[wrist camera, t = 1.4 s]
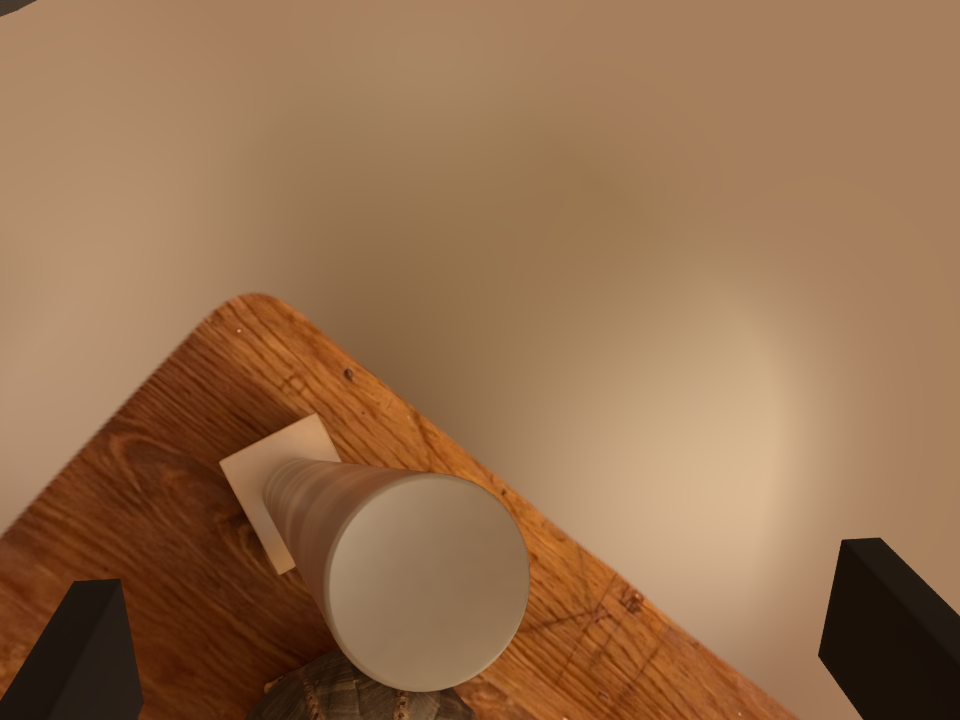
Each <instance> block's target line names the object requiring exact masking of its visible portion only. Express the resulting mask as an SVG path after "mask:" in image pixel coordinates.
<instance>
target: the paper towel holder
mask: <svg viewBox="0 0 960 720" xmlns="http://www.w3.org/2000/svg"><path fill="white" fill-rule="evenodd" d="M219 465H220V467H221V468H222V470H223V472H224V474H225V476H226V478H227V480H228V482H229V484H230V485H231V487H232V489H233V491H234V493H235V495H236V497H237V499H238V500H239V502H240V504H241V506H242V508H243V510H244V512H245V514H246V516H247V517H248V519H249V521H250V523H251V525H252V527H253V529H254V531H255V532H256V534H257V536H258V538H259V540H260V542H261V544H262V546H263V547H264V549H265V551H266V553H267V555H268V557H269V559H270V561H271V563H272V564H273V566H274V568H275V570H276V572H277V574H278V575H281V574H283V573H285V572H287V571H288V570H290V569H292V568H294V567H295V566H297V568H298V570H299V572H300V574H301V576H302V578H303V580H304V582H305V584H306V585H307V587H308V589H309V591H310V593H311V595H312V597H313V599H314V601H315V603H316V605H317V606H318V608H319V610H320V612H321V614H322V616H323V618H324V620H325V622H326V624H327V625H328V627H329V629H330V631H331V633H332V635H333V637H334V639H335V641H336V642H337V644H338V645H339V647H340V649H341V650H342V652H343V653H344V654H345V655H346V657H347V658H348V659H349V660H350V661H351V663H352V664H354V665H355V666H356V667H357V668H358V669H359V670H360V671H361V672H363V673H364V674H366V675H367V676H369V677H370V678H372V679H373V680H375V681H377V682H379V683H382V684H384V685H386V686H389V687H392V688H396V689H399V690H405V691H412V692H430V691H437V690H443V689H446V688H450V687H453V686H456V685H458V684H461V683H463V682H465V681H468V680H469V679H471V678H473V677H474V676H476V675H478V674H479V673H481V672H482V671H483V670H484V669H486V668H487V667H488V666H490V665H491V664H492V663H493V662H494V661H495V660H496V659H497V658H498V657H499V656H500V655H501V654H502V652H503V651H504V650H505V649H506V647H507V646H508V645H509V643H510V642H511V640H512V638H513V637H514V635H515V633H516V632H517V630H518V627H519V625H520V623H521V621H522V618H523V615H524V612H525V609H526V606H527V601H528V596H529V588H530V564H529V558H528V552H527V548H526V545H525V541H524V538H523V536H522V533H521V531H520V529H519V527H518V525H517V523H516V522H515V520H514V518H513V517H512V515H511V514H510V512H509V511H508V510H507V509H506V507H505V506H504V505H503V504H502V503H501V502H500V501H499V500H498V499H497V498H496V497H495V496H494V495H493V494H491V493H490V492H488V491H487V490H486V489H484V488H483V487H481V486H479V485H477V484H475V483H474V482H472V481H469V480H466V479H464V478H461V477H457V476H453V475H448V474H440V473H431V472H422V471H413V470H404V469H395V468H386V467H377V466H368V465H359V464H350V463H343V462H342V460H341V458H340V456H339V454H338V452H337V450H336V448H335V446H334V445H333V443H332V441H331V439H330V437H329V435H328V433H327V431H326V429H325V427H324V425H323V424H322V422H321V420H320V418H319V416H318V414H317V413H316V412H314V413H312V414H310V415H308V416H306V417H304V418H302V419H300V420H298V421H296V422H294V423H292V424H290V425H288V426H286V427H284V428H282V429H281V430H279V431H277V432H275V433H273V434H271V435H269V436H267V437H265V438H263V439H261V440H259V441H257V442H255V443H253V444H251V445H249V446H248V447H246V448H244V449H242V450H240V451H238V452H236V453H234V454H232V455H230V456H228V457H226V458H224V459H222V460H220V461H219Z"/></svg>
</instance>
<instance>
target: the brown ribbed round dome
mask: <svg viewBox="0 0 960 720" xmlns="http://www.w3.org/2000/svg"><path fill="white" fill-rule="evenodd" d="M246 720H477V718H476V715H475V712H474V711H473V710H472V709H471V708H470V707H468V706H467V705H466V704H465V703H464V702H463V700H462V699H461V698H460V697H459V695H458V694H457V693H456V692H455V690H454V689H453V688H452V687H450V688H446V689H443V690H437V691H430V692H412V691H405V690H399V689H396V688H392V687H389V686H386V685H384V684H382V683H379V682H377V681H375V680H373V679H372V678H370V677H369V676H367V675H366V674H364V673H363V672H361V671H360V670H359V669H358V668H357V667H356V666H355V665H354V664H352V663H351V661H350V660H349V659H348V658H347V657H346V655H345V654H344V653H343V652H342V650H338V651H334V652H330V653H327V654H325V655H323V656H320V657H319V658H317V659H315V660H314V661H312V662H310V663H308V664H306V665H305V666H303V667H302V668H298V669H295V670H293V671H291V672H289V673H287V674H285V675H283V676H281V677H279V678H277V679H276V680H274V681H271V682H269V683H267V684H266V685H265V688H264V697H262V698H261V700H260V701H259V702H258V703H257V704H256V705H255V706H254V707H253V709H252V710H251V711H250V713H249V714H248V716H247V718H246Z"/></svg>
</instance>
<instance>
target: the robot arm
mask: <svg viewBox="0 0 960 720" xmlns="http://www.w3.org/2000/svg"><path fill="white" fill-rule="evenodd" d="M818 656H819V658H820V659H821V661H822V662H823V664H824V665H825V666H826V668H827V669H828V671H829V672H830V673H831V675H832V676H833V678H834V679H835V680H836V682H837V683H838V685H839V686H840V688H841V689H842V690H843V692H844V693H845V695H846V696H847V697H848V699H849V700H850V702H851V703H852V704H853V706H854V707H855V709H856V710H857V711H858V713H859V714H860V716H861V717H862V719H863V720H960V616H959V615H958V614H957V613H956V612H955V611H954V610H953V609H952V608H951V607H950V606H949V605H948V604H947V603H946V602H945V601H944V600H943V599H942V598H941V597H940V596H939V595H938V594H936V592H935V591H934V590H933V589H932V588H931V587H930V586H929V585H927V583H926V582H925V581H924V580H923V579H921V577H920V576H919V575H917V574H916V573H915V572H914V571H913V570H912V569H911V568H910V567H909V566H908V565H907V564H906V563H905V562H904V561H903V560H902V559H901V558H900V557H899V556H898V555H897V554H896V553H895V552H894V551H893V550H892V549H891V548H890V547H889V546H888V545H887V544H886V543H885V542H884V541H883V540H882V539H881V538H863V539H847V540H846V539H845V540H842V541H841V546H840V551H839V556H838V561H837V566H836V571H835V575H834V581H833V585H832V590H831V596H830V600H829V605H828V610H827V615H826V619H825V624H824V629H823V634H822V639H821V644H820V649H819V653H818ZM143 703H144V701H143V696H142V690H141V685H140V680H139V675H138V669H137V664H136V659H135V654H134V648H133V643H132V638H131V632H130V627H129V622H128V617H127V611H126V606H125V601H124V595H123V590H122V585H121V580H120V579H108V580H90V581H74V582H73V584H72V585H71V587H70V589H69V590H68V592H67V594H66V595H65V597H64V598H63V600H62V602H61V603H60V605H59V607H58V608H57V610H56V611H55V613H54V615H53V616H52V618H51V620H50V621H49V623H48V624H47V626H46V628H45V629H44V631H43V633H42V634H41V636H40V637H39V639H38V641H37V642H36V644H35V646H34V647H33V649H32V650H31V652H30V654H29V655H28V657H27V659H26V660H25V662H24V664H23V665H22V667H21V668H20V670H19V672H18V673H17V675H16V677H15V678H14V680H13V681H12V683H11V685H10V686H9V688H8V690H7V691H6V693H5V694H4V696H3V698H2V699H1V701H0V720H137V719H138V716H139V714H140V711H141V709H142V706H143Z"/></svg>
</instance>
